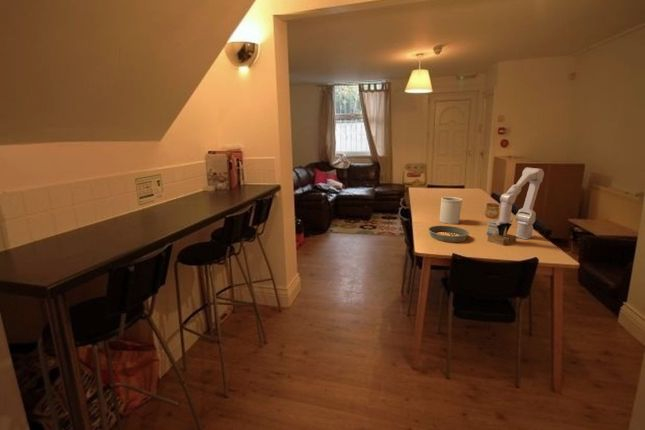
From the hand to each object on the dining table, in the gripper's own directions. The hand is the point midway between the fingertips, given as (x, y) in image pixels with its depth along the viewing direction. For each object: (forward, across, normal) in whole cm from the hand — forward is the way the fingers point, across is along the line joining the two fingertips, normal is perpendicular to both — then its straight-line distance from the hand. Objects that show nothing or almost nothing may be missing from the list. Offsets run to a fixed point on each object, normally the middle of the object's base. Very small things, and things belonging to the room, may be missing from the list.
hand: (502, 235), depth 214 cm
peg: (+4, 0, 0) cm, 4 cm away
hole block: (+4, 0, 0) cm, 4 cm away
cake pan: (+4, -21, +23) cm, 32 cm away
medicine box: (+4, +8, +10) cm, 14 cm away
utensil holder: (+4, +11, +47) cm, 48 cm away
